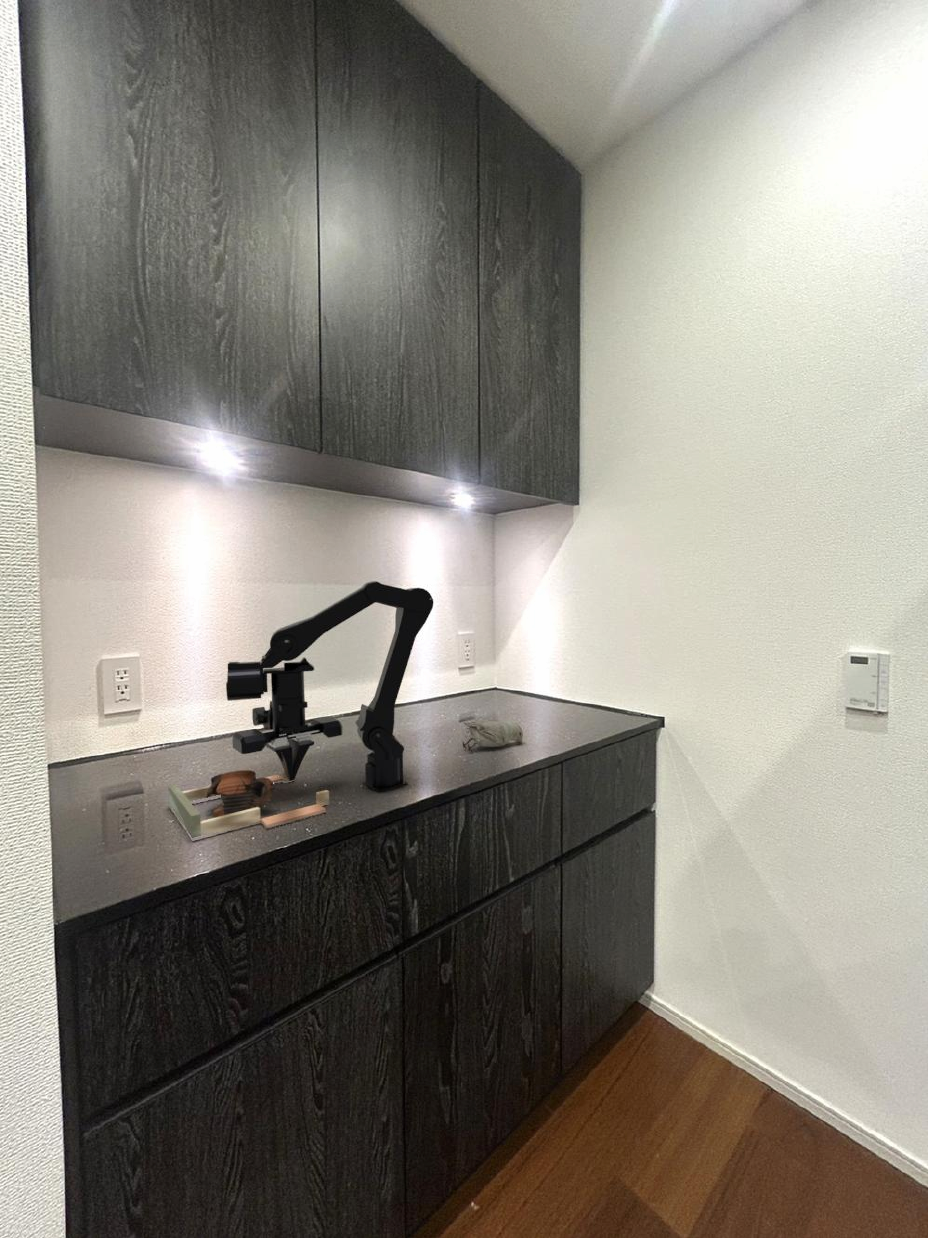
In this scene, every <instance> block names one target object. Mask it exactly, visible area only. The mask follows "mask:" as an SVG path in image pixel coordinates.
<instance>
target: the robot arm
mask: <svg viewBox="0 0 928 1238" xmlns="http://www.w3.org/2000/svg"><path fill="white" fill-rule="evenodd" d="M375 603H377V604H381V605H385V606H388V607H392V608H395V620H394V621H395V623H394V624H395V626H394V627H395V628H394V633H393V635H392V638H391V639H392V640H391V643H390V646H389V649H388V653H387V655H386V658H385V662H384V665H383V668H382V672H381V673H380V674H381V675H380V677H379V680H378V684H377V686H376V687H377V688H376V691H375V693H374V697H373V698H372V700H371V701H370V703H369V704H368V705H366V704H363V703H362V704H361V706H360V713H359V716H358V717H357V720H355V725H356V727H357V730H356V731H357V735H358V736H359V738H360V740H361V741H362V744H363V746H364V747H365V748H366V749H368V750H369V751H371V752H370V753H368V754H367V755H366V759H367V760H366V761H367V762H366V763H365V764H364V766H365V771H364V772H365V774H364V775H365V780H363V784H364V785H366V786H367V787H369V788H371V789H373V790H375V791H377V792H378V793H382V792H386V791H391V790H393V789H394V790H395V789H396V788H401V787H405V786H408V785H409V782H408V781H407V780H404V750H405V747H404V745H403V744H402V743H401V742H400V741H399V739H398V738H397V737H396V736H395V735H394V728H395V706H396V702H397V699H398V696H399V693H400V688H401V685H402V682H403V680H404V677H405V673H406V669H407V667H408V662H409V659H410V657H411V654H412V650H413V648H414V643H415V640H416V638H417V636H418V634H419V632H420V631H421V630H422V628H423V627H424V626H425V624H426V622H427V620H428V618H429V616H430V614H431V612H432V610H433V608H434V598H433V596H432V595H431V593H430V592H429V590H427V589H424V588H423V587H422V588H421V587H410V588H406V589H405V588H401V587H396V586H394V585H393V586H392V585H388V584H382V583H381V582H379V581H375V580H374V581H369V582H366V583H365V584H363V586H361V587H360V588H357V590H355V591H353V592H352V593H349V594H348V595H346V596H344V597H343V598H341V599H340V600H337V601H336V602H335V603H333V604H331V605H329V606H328V607H325V608H324V609H322V610H321V611H319V612H318V613H316V614H315V615H312V616H310V617H308V618H305V619H301V620H300V621H296V622H294V623H291V624H289V625H288V624H287V625H286V626H283V627H280V628H278V629H277V630H276V631H274V632H273V633H272V635H271V636H270V641H269V649H268V650H267V651H266V653H265V654H264V655H262V656H261V660H260V661H248V662H247V661H246V662H245V661H244V662H240V661H229V662H228V664H227V673H226V674H227V678H226V679H227V681H226V683H225V687H226V690H225V691H226V699H227V701H228V702H229V701H231V702H232V701H240V700H241V701H243V700H256V699H262V695H265V693H268V692H269V691H268V690H269V689H268V687H269V686H268V674H270V680H271V681H270V685H271V700H270V701H269V707H268V709H266V708H265V706H261V707H260V706H259V707H254V708H252V710H251V711H252V717H251V718H252V724H253V726H255V727H256V726H263V730H264V731H266V730H267V731H268V730H270V731H268V732H262V731H260V730H258V729H257V728H253V729H247V730H242V731H236V732H235V733H234V735H233V736H232V749H233V750H235V751H237V752H238V753H240V754H241V755H248V754H253V753H258V752H262V751H263V749H264V748H265V747H266V748H268V749H269V750H271V751H272V752H274V753H276V755H277V757H278V759H279V761H280V762H281V767H282V768H283V770H284V771H285V773H286V776H287V778H288V780H289V781H292V780H294V781H295V780H296V776H297V774H298V771H299V769H300V767H301V764H302V762H303V760H304V758H305V756H306V754H307V752H308V751H309V749H310V747H312V746H314V745H315V741H313V740H312V735H318V734H323V735H324V736H325V737H326V738H328V739H330V738H335V737H339V736H342V735H343V724H342V723H341V721H340V720H339V719H336V718H333V717H331V716H325V717H318V718H313V719H312V720H311V722H310V724H308V723H306V709H307V708H308V702H307V701H305V699H306V697H305V672H313V671H315V667H314V664H311V663H310V662H309V661H308V659H307V657H302V659H301V660H300V661H293V660H295V659H297V658H299V657H300V656H301V655H303V653H304V652H306V650H308V649H309V648H310V647H311V646H312V645H314V643H316V641H317V640H318V639H319V638H320V637H322V636H323V635H324V634H326V633H327V632H329V631H330V630H332V629H333V628H336V627H338V626H339V625H340V624H342V623H344V622H345V621H347V620H349V619H350V618H352V617H354V616H355V615H357V614H358V613H361V612H362V611H363V610H365V609H366V608H368V607H370V606H372V605H374V604H375ZM284 661H285V662H284ZM291 661H292V662H291ZM281 662H283V667H276V666H277V665H279V664H281ZM271 730H272V731H271Z"/></svg>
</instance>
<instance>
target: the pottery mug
mask: <svg viewBox="0 0 928 1238" xmlns="http://www.w3.org/2000/svg"><path fill="white" fill-rule="evenodd" d="M256 775H257V773H256V772H255V771H253V770H246V769H245V770H234V771H228V772H225V773H224V772H223V773H220V774H217V775H214V776H213V777H211V778H210V782H211V784H210V785H209V786H210V787H209V788H208V791H207V796H206V797H207V798H208V797H209V796H210V795H212V794H214V795H221V801H222V805H223V806H221V807H219V808H216V809H214V810H213V811H212V814H213V818H216V817H220V816H224V815H228V814H232V813H236V812H240V811H244V810H248V809H252V808H256V807H259V808H260V809H261V808H262V806H263V805H264V804H266V803H267V802H268V801H269V800H270V799H271V798H272V795H273V793H274V790H275V786H274V785H275V784H274V785H273V782H272V781H271V780H270V779H269V778H265V777H260V778H259V777H258V778H256ZM264 786H265V787H264ZM263 789H264V790H263Z"/></svg>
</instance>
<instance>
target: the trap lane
mask: <svg viewBox="0 0 928 1238" xmlns="http://www.w3.org/2000/svg"><path fill="white" fill-rule="evenodd" d="M281 774H282V777H281V776H279V775H278V774H274V775H269V776H265V777H264V778H269V779H270V780H271V781H272V782H278V781H284V782H287V781H289V780H288V778H287V776H286V773H285V771H284V769H282V773H281ZM210 786H211V785H207V786H203V787H197V788H192V789H188V790H183V791H182V790H181V788H180V787H179V786H178V785H177V784H173V785H168V806H169V805H170V806H171V808H173V810H174V811H175V813H176V815H177V816H178V818H179V820H180V821H181V822H182V824H183V825H184V826H185V828H186V830H187V831H188V833H189V834H190V835H191V837H192V838H194V837H197V836H201V835H207V834H212V833H216V832H220V831H224V830H229V829H233V828H237V827H240V826H245V825H248V824H252V823H256V822H259V821H261V822H262V823H263V824H264V825H265V826H266V827H270V826H274V825H278V824H282V823H285V822H288V821H295V820H298V819H302V818H305V817H308V816H312V815H316V814H319V813H322V812H326V813H327V811H326V810H327V809H326V808H325V807H322V806H324V805H328V804H329V805H330V791H329V790H327V789H325V790H321V791H317V792H315V804H312V805H309V806H305V807H301V808H300V807H299V808H298V809H293V810H290V811H285V812H282V813H278V814H275V815H270V816H267V817H263V818H261V808H259V807H256V808H254V807H252V809H248V810H244V811H240V812H236V813H232V814H228V815H224V816H220V817H216V818H214V817H212V818H209V819H205V820H201V813H200V812H199V811H198V809H196V806H194V805H192V803H191V802H190V801H193V800H198V799H202V798H207V797H206V796H207V791H208V788H209V787H210ZM212 796H216V795H214V794H212V795H210V796H209V797H212Z"/></svg>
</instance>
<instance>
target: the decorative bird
mask: <svg viewBox="0 0 928 1238" xmlns="http://www.w3.org/2000/svg"><path fill="white" fill-rule="evenodd" d="M463 724H464V726H466V727H469V728H468V731H469V734H470V738H469V739H468V741H467V742H466V743H465V742H464V741H463V740H461V742H462V749H465V750H468V751H469V752H471V753H470V754H474V753H473V752H474V751H473V749H472V748H473V747H475V746H476V745H478V746H479V747H484V748H499V747H503V746H505V745H507V744H508V743H510V741H514V742H516V743H518V744H519V745H520V744H522V743H523V736H524V735H523V734H524V733H523V729H522V727H521V726H520V724H519V723H518V722H517V721H512V720H509V721H508V720H507V721H502V720H501V721H498V720H497V721H495V720H493V721H492V720H491V721H490V720H489V721H483V722H481V721H474V720H473V721H472V720H471V721H463ZM471 741H474V743H473V745H471V746H470V745H469V744H470V742H471ZM466 745H467V746H468V747H467V746H466Z"/></svg>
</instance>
